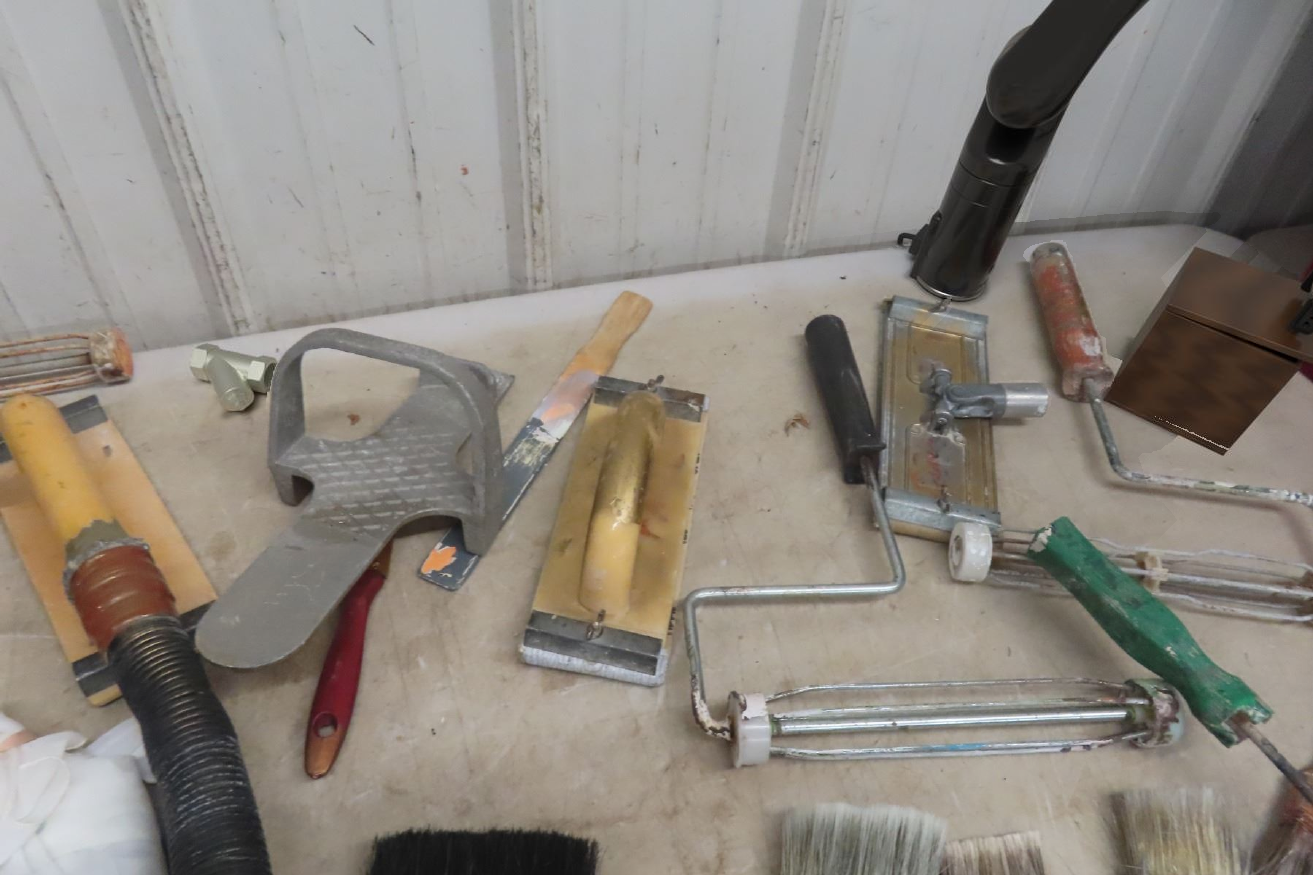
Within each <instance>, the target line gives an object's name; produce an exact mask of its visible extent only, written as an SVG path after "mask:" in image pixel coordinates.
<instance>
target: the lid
mask: <svg viewBox="0 0 1313 875" xmlns="http://www.w3.org/2000/svg"><path fill="white" fill-rule="evenodd" d="M1190 254H1191V255H1190ZM1190 254H1189V255H1190V257H1189V256H1188V257H1189V259H1188V261H1187V263H1186V265H1185V268H1184V270H1183V272H1182V274H1181V276H1180V278H1179V280H1178V282H1177V285H1176V287H1175V289H1174V291H1173V293H1172V295H1171V297H1170V299H1169V301H1168V304H1167V306H1166V308H1165V310H1168V311H1171V312H1173V313H1176V314H1179V315H1181V316H1184V317H1187V318H1190V319H1192V320H1195V321H1198V322H1200V323H1203V324H1206V325H1208V326H1211V327H1214V328H1217V329H1219V330H1222V331H1225V332H1227V333H1230V334H1233V335H1235V336H1238V337H1241V338H1243V339H1246V340H1249V341H1252V342H1254V343H1257V344H1260V345H1262V346H1265V347H1268V348H1270V349H1273V350H1276V351H1279V352H1281V353H1284V354H1287V355H1289V356H1292V357H1295V358H1297V359H1300V360H1303V361H1302V362H1305V363H1309V364H1311V365H1313V333H1312V334H1310V335H1305V334H1303V333H1300V332H1298V331H1295V330H1293V329H1291V328H1290V327H1289V325H1290V321H1291V320H1292V319H1293V317H1294V316H1295V315H1296V314H1297V312H1298V311H1299V310H1300V309H1301V308H1302V306H1303V305H1304V304H1305V303H1306V301H1307V300H1308V299H1309V298H1310V297H1311V293H1312V292H1313V284H1312V287H1311V291H1310V292H1309V293H1308V292H1305V291H1303V290H1301V284H1302V282H1301V281H1298V280H1296V279H1292V278H1289V277H1287V276H1283V275H1280V274H1277V273H1274V272H1271V271H1269V270H1265V269H1262V268H1260V267H1257V266H1253V265H1250V264H1248V263H1246V262H1242V261H1239V260H1236V259H1233V258H1230V257H1227V256H1225V255H1221V254H1218V253H1216V252H1213V251H1210V250H1207V249H1204V248H1201V247H1198V246H1194V247H1193V249H1192V251H1191V252H1190Z"/></svg>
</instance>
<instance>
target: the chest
mask: <svg viewBox="0 0 1313 875" xmlns="http://www.w3.org/2000/svg"><path fill="white" fill-rule="evenodd" d="M1190 255H1191V253H1190V254H1189V255H1188V257H1187V258H1186V260H1185V261H1184V263H1183V264H1182V266H1181V267H1180V269H1179V270H1178V272H1177V273H1176V274H1175V276H1174V278H1173V279H1172V281H1171V282H1170V284H1168V287H1167V289H1166V290H1165V292H1164V293H1163V295H1162V296H1161V297H1160V299H1159V300H1158V302H1157V304H1155V306H1154V307H1153V310H1152V311H1151V313H1150V314H1149V315H1148V317H1147V319H1146V320H1145V321H1144V322H1143V324H1142V326H1141V328H1139V331H1138V332H1137V333H1136V335H1135V337H1134V338H1133V340H1132V341H1131V344H1130V345H1129V347H1128V349H1127V351H1126V353H1125V356H1124V358H1123V359H1122V361H1121V363H1120V366H1119V368H1118V370H1117V372H1116V373H1115V375H1114V378H1113V380H1114V381H1113V380H1112V382H1111V384H1110V385H1109V388H1108V390H1107V391H1106V394H1105V396H1104V398H1103V401H1105V402H1107V403H1109V404H1111V405H1113V406H1115V407H1118V408H1120V409H1121V410H1125V411H1126V412H1128V413H1131V414H1133V415H1135V416H1137V417H1139V418H1141V419H1143V420H1145V421H1147V422H1148V423H1149V422H1150V423H1152V424H1154V425H1156V426H1158V427H1160V428H1162V429H1165V430H1166V431H1169V432H1171V433H1173V434H1175V435H1178V436H1180V437H1181V438H1184V439H1186V440H1188V441H1190V442H1192V443H1194V444H1196V445H1198V446H1200V447H1203V448H1204V449H1207V450H1209V451H1211V452H1213V453H1216V454H1217V455H1220V456H1222V457H1224V456H1225V455H1226V453H1227V452H1228V451H1229V450H1230V449H1231V448H1232V447H1233V446H1234V444H1236V442H1237V441H1238V440H1239V439H1240V437H1242V435H1243V434H1244V433H1245V432H1246V431H1247V430H1248V428H1249V427H1250V426H1251V425H1252V424H1253V423H1254V422H1255V421H1256V419H1257V418H1258V417H1259V416H1260V415H1261V414H1262V412H1263V411H1264V410H1265V409H1266V408H1267V407H1268V406H1269V404H1271V403H1272V401H1273V400H1274V399H1275V397H1277V396H1278V395H1279V393H1281V391H1282V390H1283V389H1284V387H1285V386H1286V385H1288V384H1289V382H1290V380H1292V379H1293V377H1294V376H1295V375H1296V374H1297V373H1298V372H1299V370H1300V369H1301V368H1302V363H1303V362H1304V361H1303V360H1300V359H1297V358H1295V357H1292V356H1289V355H1287V354H1284V353H1281V352H1279V351H1276V350H1273V349H1270V348H1268V347H1265V346H1262V345H1260V344H1257V343H1254V344H1253V345H1252V344H1249V343H1247V342H1244V341H1242V340H1240V339H1237V338H1235V337H1233V336H1230V335H1228V334H1226V333H1223V332H1221V331H1219V330H1216V329H1214V328H1211V327H1209V326H1207V325H1204V324H1202V323H1200V322H1197V321H1195V320H1192V319H1190V318H1187V317H1184V316H1181V315H1179V314H1176V313H1173V312H1171V311H1168V310H1165V308H1166V306H1167V304H1168V301H1169V299H1170V297H1171V295H1172V293H1173V291H1174V289H1175V287H1176V285H1177V282H1178V280H1179V278H1180V276H1181V274H1182V272H1183V270H1184V268H1185V265H1186V263H1187V261H1188V259H1189V257H1190ZM1155 416H1156V417H1155ZM1159 418H1160V419H1159ZM1161 419H1162V420H1161ZM1166 421H1168V422H1169V423H1168V422H1166ZM1170 423H1171V424H1170ZM1172 424H1174V425H1177V426H1179V427H1181V428H1184V429H1187V430H1188V431H1189V432H1194V433H1195V434H1197V435H1199V436H1201V437H1204V438H1206V439H1207V440H1211V441H1212V442H1214V443H1216V444H1218V445H1222V446H1224V447H1226V448H1229V450H1226V449H1224V448H1221V447H1219V446H1217V445H1215V444H1213V443H1211V442H1209V441H1206V440H1204V439H1202V438H1200V437H1198V436H1196V435H1194V434H1191V433H1189V432H1187V431H1185V430H1183V429H1181V428H1179V427H1176V426H1174V425H1172Z"/></svg>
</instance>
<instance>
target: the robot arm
mask: <svg viewBox="0 0 1313 875" xmlns="http://www.w3.org/2000/svg"><path fill="white" fill-rule="evenodd" d="M1149 1H1150V0H1051V1H1050V3H1049V4H1047V6H1046V7H1045V8H1044V10H1043V11H1042V12H1041V13H1040V14H1039V15H1038V16H1037V18H1036V19H1035V20H1034V21H1033V22H1032V23H1031V24H1029V25H1027V26H1025V27H1023V28H1021V29H1020V30H1019V31H1017V32H1016V33H1015V34H1014V35H1012V36H1011V37H1010V39H1008V41H1007V42H1006V44H1005V45H1004V46H1003V48H1002V49H1001V51H1000V52H999V54H998V56H997V57H996V59H995V60H994V62H993V64H992V66H991V67H990V70H989V73H988V75H987V79H986V84H985V94H984V96H983V99H982V101H981V104H980V107H979V109H978V111H977V114H976V116H975V118H974V120H973V122H972V124H971V127H970V129H969V131H968V133H967V135H966V138H965V139H964V142H963V145H962V148H961V151H960V153H959V156H958V159H957V161H956V164H955V166H954V169H953V172H952V174H951V177H950V180H949V182H948V185H947V188H946V190H945V192H944V195H943V197H942V201H941V203H940V206H939V208H938V209H937V210H936V211H935V212H934V213H933V215H932V216H931V218H930V220H929V222H928V223H925V224H923V226H922V227H921V228H920V229H919V230H918V232H917V233H916V234H914V233H911V232H901V233H899V234H898V236H897V240H896V242H897V244H898V245H903V243H904V240H905V239H907V240H911V243H910V246H909V248H908V251H907V253H908V254H910V255H913V256H915V259H914V262H913V265H912V268H911V270H910V273H909V277H911V278H913V279H915V280H916V281H917V282H918V284H920V286H921V287H922V288H924V289H925V290H926V291H927V292H929V293H931V294H932V295H934V296H936V297H939V298H941V299H945V298H946V297H952V300H951V301H956V302H965V301H972V300H975V299H977V298H978V297H980V296H981V295H982V294H983V292H984V290H985V287H986V284H987V282H988V280H989V278H990V276H991V275H992V272H993V271H994V269H995V266H996V264H997V261H998V259H999V256H1000V253H1001V251H1002V249H1003V247H1004V245H1005V243H1006V240H1007V239H1008V236H1009V234H1010V232H1011V230H1012V228H1013V226H1014V223H1015V222H1016V219H1017V217H1018V216H1019V213H1020V211H1021V209H1022V207H1023V204H1024V203H1025V200H1026V199H1027V196H1028V194H1029V191H1030V189H1031V187H1032V185H1033V184H1034V181H1035V179H1036V176H1037V174H1038V173H1039V170H1040V169H1041V166H1042V164H1043V162H1044V160H1045V157H1046V155H1047V154H1048V151H1049V149H1050V147H1051V145H1052V142H1053V140H1054V138H1055V136H1056V134H1057V131H1058V129H1059V126H1060V125H1061V122H1062V120H1063V118H1064V116H1065V114H1066V112H1067V111H1068V110H1067V109H1068V107H1069V106H1070V103H1071V101H1072V100H1073V97H1074V95H1075V94H1076V92H1077V91H1078V90H1079V88H1080V87H1081V85H1082V84H1083V82H1084V81H1085V80H1086V78H1087V76H1088V75H1089V74H1090V72H1091V70H1092V69H1093V68H1094V66H1095V65H1096V64H1097V62H1098V60H1099V59H1101V57H1102V56H1103V54H1104V53H1105V51H1106V50H1107V48H1108V47H1109V46H1110V44H1111V43H1112V42H1113V41H1114V40H1115V39H1116V37H1117V36H1118V35H1119V33H1120V32H1121V31H1122V30H1123V29H1124V28H1125V27H1126V25H1127V24H1128V23H1129V22H1130V21H1131V20H1132V18H1134V17H1135V16H1136V15H1137V14H1138V12H1139V11H1140V10H1142V9H1143V7H1144V6H1146V5H1147V3H1149ZM1301 283H1302V284H1301V290H1303V291H1305V292H1308V293H1309V292H1310V291H1311V287H1312V284H1313V269H1311V271H1310V272H1309V273H1308V274H1307V276H1306V277H1305V278H1304V279H1303V280H1302V282H1301ZM1289 327H1290V328H1291V329H1293V330H1295V331H1298V332H1300V333H1303V334H1305V335H1310V334H1312V333H1313V292H1312V293H1311V297H1310V298H1309V299H1308V300H1307V301H1306V303H1305V304H1304V305H1303V306H1302V308H1301V309H1300V310H1299V311H1298V312H1297V314H1296V315H1295V316H1294V317H1293V319H1292V320H1291V321H1290V325H1289Z"/></svg>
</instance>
